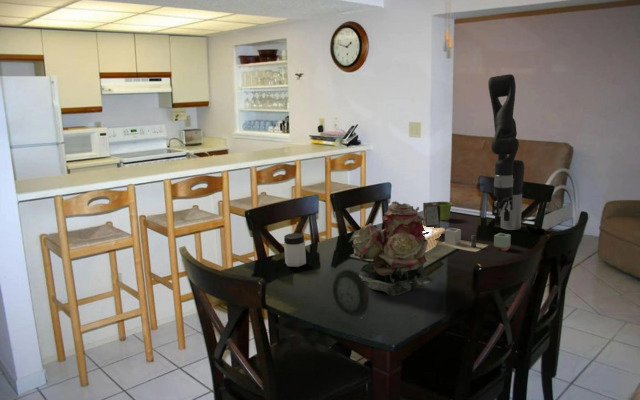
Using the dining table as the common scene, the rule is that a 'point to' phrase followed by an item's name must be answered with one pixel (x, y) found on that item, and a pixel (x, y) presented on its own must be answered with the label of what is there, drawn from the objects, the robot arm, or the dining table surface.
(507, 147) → the robot arm
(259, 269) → the dining table surface
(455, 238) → the grey sleeve
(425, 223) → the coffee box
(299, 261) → the jar
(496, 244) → the sage sleeve
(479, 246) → the pin board
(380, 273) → the rose bouquet
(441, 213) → the plant pot
